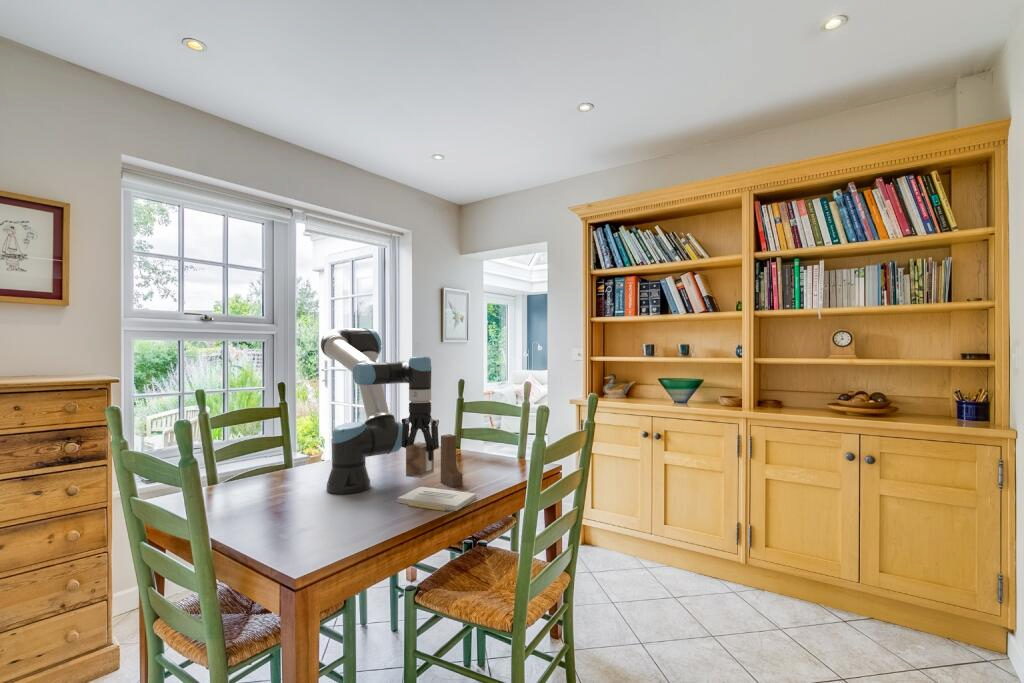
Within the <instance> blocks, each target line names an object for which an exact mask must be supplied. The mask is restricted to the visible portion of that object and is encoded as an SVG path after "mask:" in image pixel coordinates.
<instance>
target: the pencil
mask: <svg viewBox="0 0 1024 683" xmlns="http://www.w3.org/2000/svg"><path fill="white" fill-rule="evenodd" d="M408 507H414V508H420V509H426V510H427V509H428V510H435V511H441V512H450V510H449V509H445V508H438V507H431V506H424V505H416V504H408Z"/></svg>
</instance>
